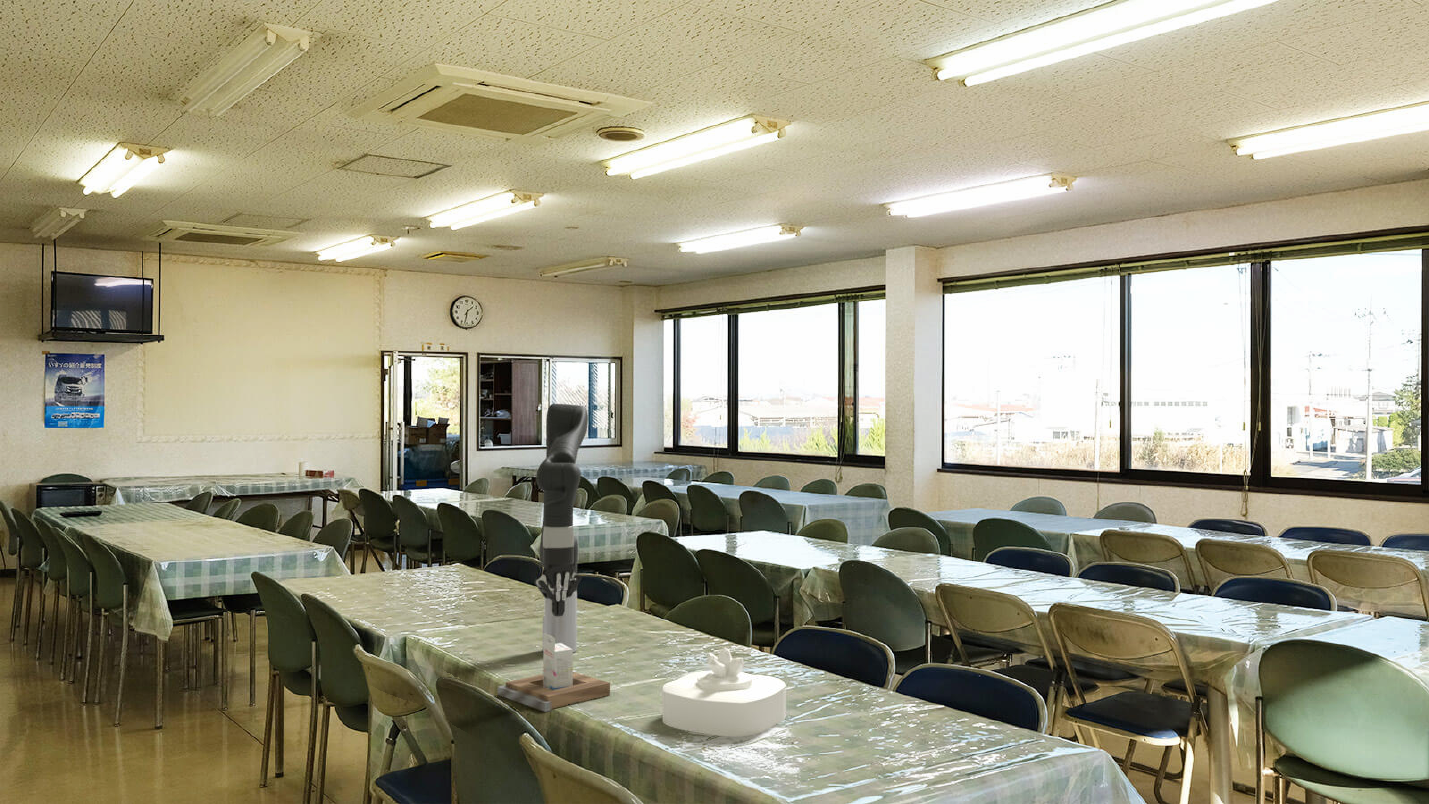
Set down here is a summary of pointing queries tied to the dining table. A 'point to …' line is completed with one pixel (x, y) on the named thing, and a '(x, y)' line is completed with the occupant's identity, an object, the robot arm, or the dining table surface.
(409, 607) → the dining table surface
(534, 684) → the frame
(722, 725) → the tissue box
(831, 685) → the dining table surface
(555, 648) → the ink box
